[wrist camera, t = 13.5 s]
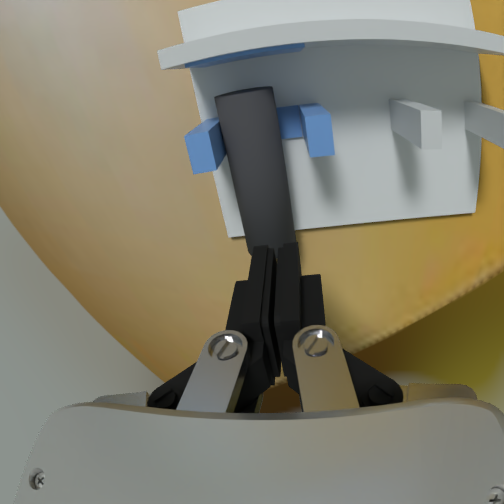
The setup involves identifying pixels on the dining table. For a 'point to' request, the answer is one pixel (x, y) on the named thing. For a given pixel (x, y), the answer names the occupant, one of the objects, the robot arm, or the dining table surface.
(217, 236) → the dining table surface
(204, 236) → the dining table surface
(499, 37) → the white holder rack
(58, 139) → the dining table surface
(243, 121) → the cylinder
